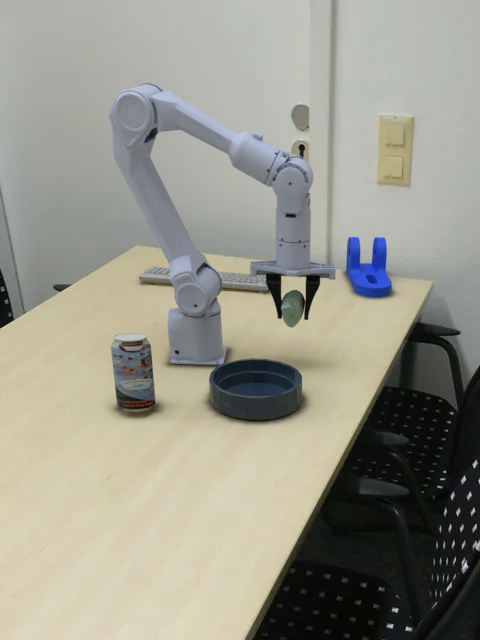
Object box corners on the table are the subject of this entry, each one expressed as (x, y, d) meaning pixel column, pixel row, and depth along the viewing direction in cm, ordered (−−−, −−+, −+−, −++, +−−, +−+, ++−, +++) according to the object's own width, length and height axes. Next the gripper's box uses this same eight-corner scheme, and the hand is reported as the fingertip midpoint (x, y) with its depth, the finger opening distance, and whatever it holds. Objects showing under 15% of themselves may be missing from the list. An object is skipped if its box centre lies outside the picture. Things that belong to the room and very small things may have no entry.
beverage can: (118, 419, 123) (107, 347, 116) (117, 398, 128) (107, 328, 121) (158, 416, 124) (151, 344, 117) (156, 395, 130) (148, 326, 123)
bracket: (346, 271, 188) (347, 233, 183) (379, 271, 190) (382, 233, 185) (357, 297, 174) (360, 256, 169) (393, 297, 176) (397, 257, 170)
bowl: (205, 419, 124) (203, 395, 122) (216, 379, 136) (214, 356, 134) (300, 422, 125) (300, 399, 123) (302, 382, 137) (303, 360, 135)
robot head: (286, 318, 142) (286, 281, 138) (308, 320, 142) (309, 284, 138) (277, 334, 136) (276, 296, 132) (300, 337, 136) (300, 299, 132)
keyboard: (275, 279, 181) (275, 270, 180) (268, 294, 173) (268, 285, 172) (152, 269, 182) (151, 261, 181) (139, 284, 173) (138, 275, 172)
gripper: (247, 243, 126) (250, 323, 134) (336, 247, 127) (333, 327, 135) (251, 231, 132) (253, 309, 140) (336, 235, 133) (333, 312, 141)
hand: (292, 317), depth 138 cm, fingers closed on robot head, 4 cm apart
